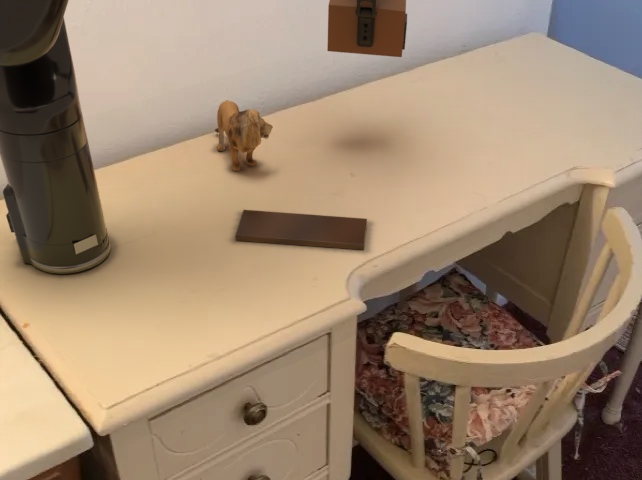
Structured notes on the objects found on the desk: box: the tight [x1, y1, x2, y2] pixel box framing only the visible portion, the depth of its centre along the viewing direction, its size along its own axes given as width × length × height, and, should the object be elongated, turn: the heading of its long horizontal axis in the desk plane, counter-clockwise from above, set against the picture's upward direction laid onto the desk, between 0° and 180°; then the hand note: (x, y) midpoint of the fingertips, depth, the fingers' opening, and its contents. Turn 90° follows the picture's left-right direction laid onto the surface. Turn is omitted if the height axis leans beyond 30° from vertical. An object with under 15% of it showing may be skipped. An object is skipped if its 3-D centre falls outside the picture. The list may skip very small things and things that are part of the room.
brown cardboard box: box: [327, 0, 408, 58], centre depth 111 cm, size 4×10×6 cm, turn 88°
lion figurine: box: [214, 100, 274, 172], centre depth 116 cm, size 15×5×9 cm, turn 33°
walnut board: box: [234, 209, 368, 251], centre depth 105 cm, size 16×6×1 cm, turn 87°
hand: (365, 37), depth 112 cm, fingers closed on brown cardboard box, 4 cm apart
